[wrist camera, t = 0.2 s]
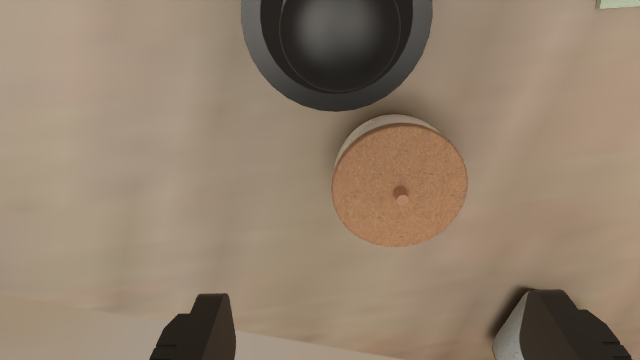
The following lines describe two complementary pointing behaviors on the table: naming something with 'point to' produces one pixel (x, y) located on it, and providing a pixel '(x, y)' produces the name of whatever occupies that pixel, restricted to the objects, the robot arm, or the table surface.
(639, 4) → the mat
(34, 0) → the table surface
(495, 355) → the ceramic mug
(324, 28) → the french press
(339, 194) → the lidded jar
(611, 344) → the robot arm
